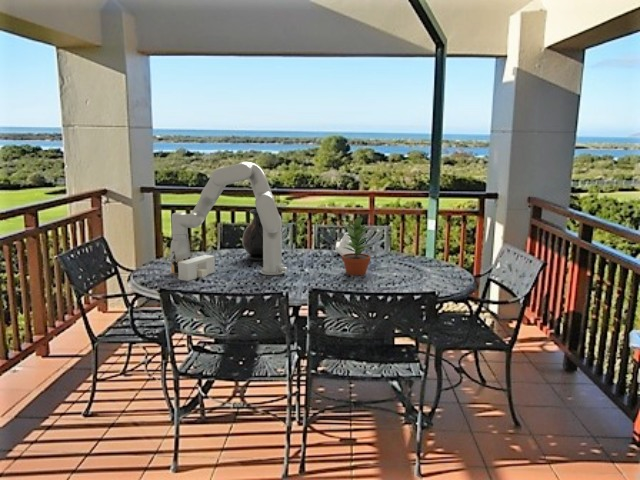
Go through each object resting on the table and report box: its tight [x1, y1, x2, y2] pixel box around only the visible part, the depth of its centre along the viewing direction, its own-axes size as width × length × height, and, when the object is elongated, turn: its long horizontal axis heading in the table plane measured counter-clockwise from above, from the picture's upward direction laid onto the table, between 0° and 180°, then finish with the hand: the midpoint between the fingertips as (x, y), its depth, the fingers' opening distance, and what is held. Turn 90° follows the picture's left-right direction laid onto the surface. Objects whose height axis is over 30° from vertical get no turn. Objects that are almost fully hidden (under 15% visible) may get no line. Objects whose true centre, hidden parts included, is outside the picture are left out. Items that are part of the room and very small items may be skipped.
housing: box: [178, 254, 216, 282], centre depth 269 cm, size 6×20×8 cm, turn 151°
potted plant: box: [342, 216, 371, 276], centre depth 277 cm, size 15×15×30 cm
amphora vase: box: [241, 209, 263, 262], centre depth 306 cm, size 22×22×28 cm
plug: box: [170, 259, 208, 278], centre depth 272 cm, size 20×6×6 cm, turn 61°
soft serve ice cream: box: [334, 231, 355, 257], centre depth 323 cm, size 12×15×14 cm
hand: (181, 271), depth 275 cm, fingers closed on plug, 5 cm apart
